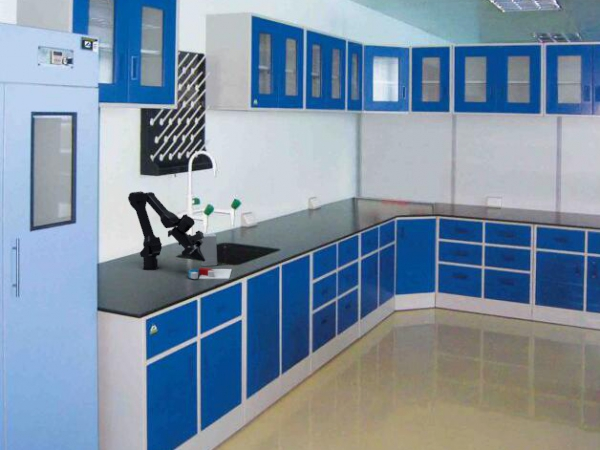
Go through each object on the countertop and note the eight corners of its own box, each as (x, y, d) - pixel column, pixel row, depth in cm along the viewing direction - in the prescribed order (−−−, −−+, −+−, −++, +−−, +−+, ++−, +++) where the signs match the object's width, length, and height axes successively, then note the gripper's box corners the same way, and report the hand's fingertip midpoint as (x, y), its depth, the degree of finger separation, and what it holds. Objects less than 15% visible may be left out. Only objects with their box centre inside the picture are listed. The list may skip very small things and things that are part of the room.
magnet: (185, 275, 365) (192, 279, 356) (185, 269, 365) (192, 273, 356) (208, 272, 370) (215, 277, 362) (208, 267, 370) (215, 271, 361)
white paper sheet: (199, 279, 360) (199, 278, 360) (203, 269, 379) (203, 268, 379) (229, 279, 360) (229, 278, 360) (231, 270, 380) (231, 269, 380)
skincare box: (216, 263, 395) (216, 233, 393) (217, 266, 388) (217, 235, 386) (200, 263, 394) (199, 233, 392) (200, 266, 387) (200, 235, 385)
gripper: (187, 229, 357) (211, 253, 357) (199, 223, 375) (221, 246, 375) (171, 245, 359) (194, 269, 359) (183, 238, 377) (205, 261, 378)
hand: (204, 261), depth 368 cm, fingers closed
